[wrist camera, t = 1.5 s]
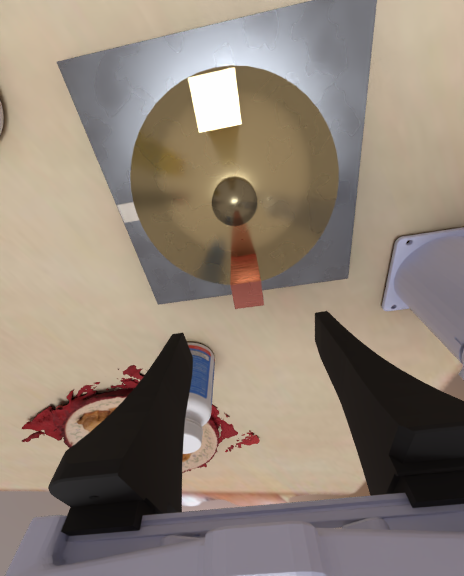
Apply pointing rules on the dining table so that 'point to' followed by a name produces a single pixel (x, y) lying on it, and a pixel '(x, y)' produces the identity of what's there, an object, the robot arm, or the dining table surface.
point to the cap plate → (241, 52)
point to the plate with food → (96, 407)
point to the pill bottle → (198, 397)
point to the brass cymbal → (234, 177)
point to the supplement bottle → (1, 118)
